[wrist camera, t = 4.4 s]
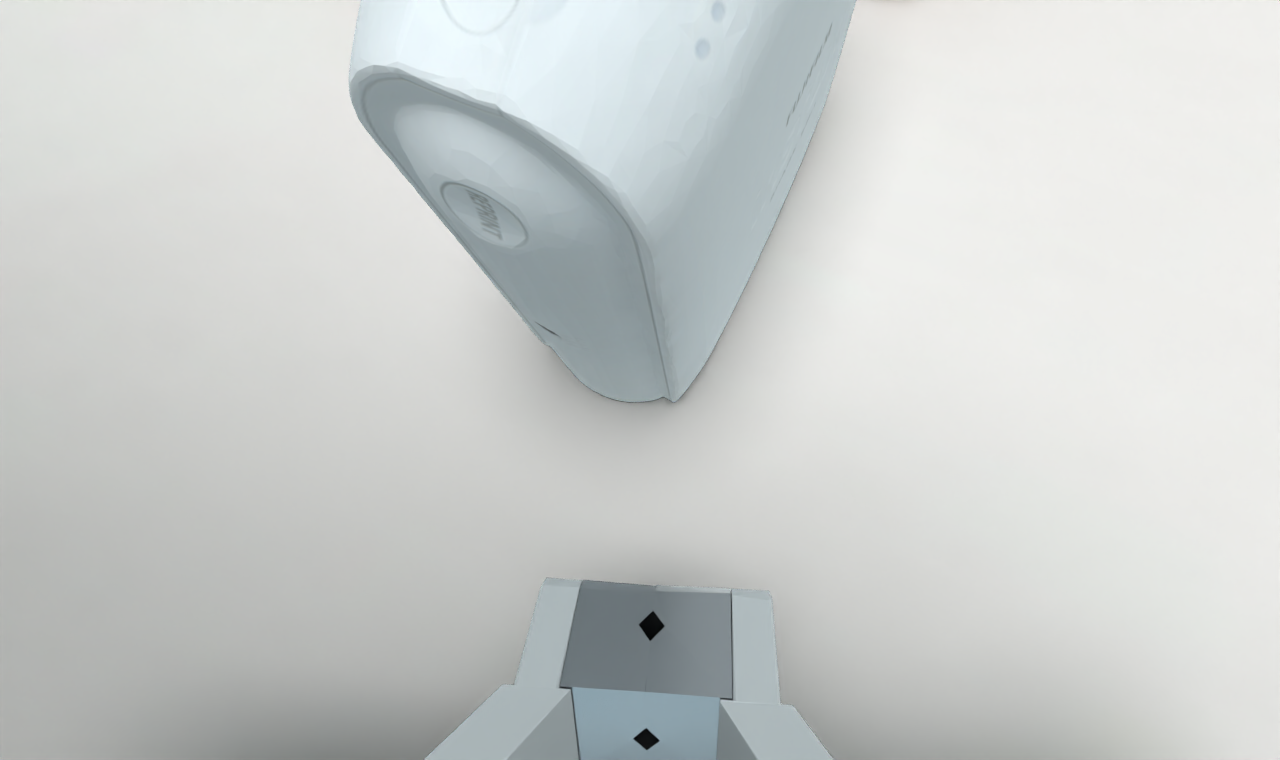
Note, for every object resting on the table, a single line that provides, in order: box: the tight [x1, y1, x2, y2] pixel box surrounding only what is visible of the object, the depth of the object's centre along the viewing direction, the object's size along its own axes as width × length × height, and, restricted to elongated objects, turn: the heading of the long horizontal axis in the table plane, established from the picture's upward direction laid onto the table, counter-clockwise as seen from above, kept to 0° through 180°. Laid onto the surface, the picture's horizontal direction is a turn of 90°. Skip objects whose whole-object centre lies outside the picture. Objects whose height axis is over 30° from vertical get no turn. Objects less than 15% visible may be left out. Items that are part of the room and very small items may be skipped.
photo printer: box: [349, 0, 856, 402], centre depth 12 cm, size 10×4×12 cm, turn 155°
